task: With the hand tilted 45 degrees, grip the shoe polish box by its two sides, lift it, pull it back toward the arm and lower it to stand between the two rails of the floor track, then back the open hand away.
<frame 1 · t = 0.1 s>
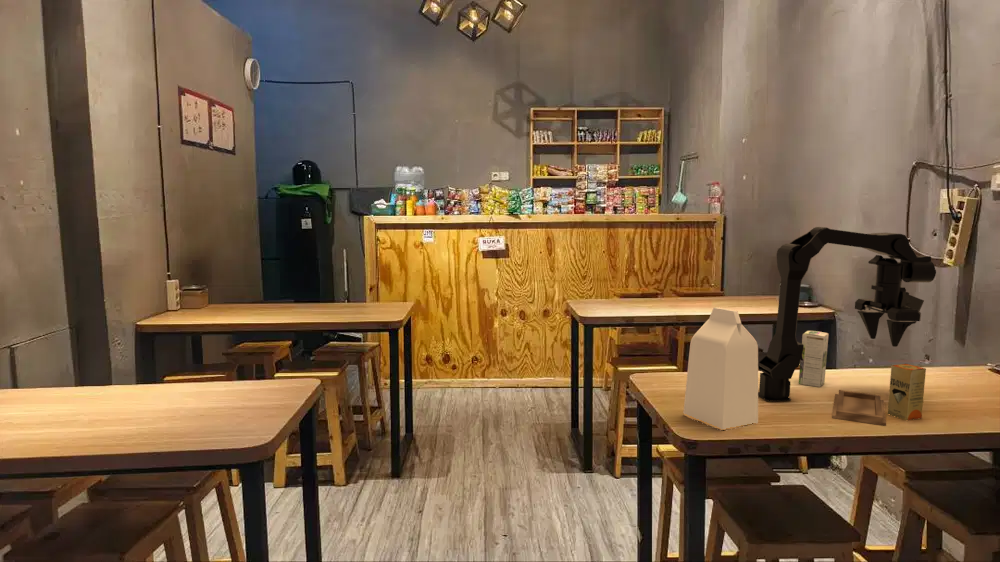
hand: (883, 342, 170), 15 cm above the table, tool pointing down, fingers open, 9 cm apart
track: (858, 409, 161), on the table
syrup box: (811, 384, 184), on the table
milk: (719, 420, 154), on the table
shoe polish box: (904, 417, 157), on the table
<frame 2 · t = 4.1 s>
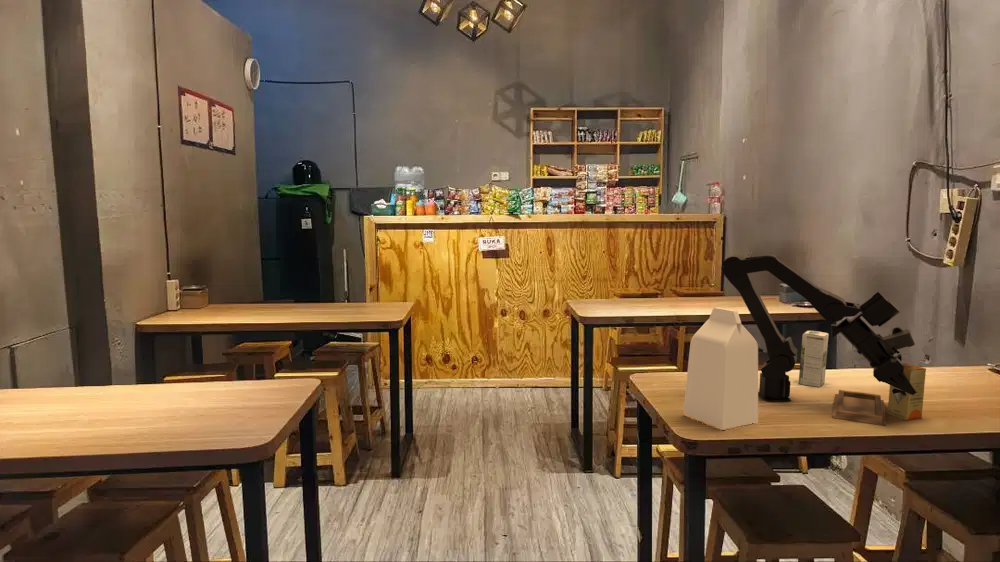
hand: (913, 389, 155), 7 cm above the table, tool tilted 45°, fingers closed on shoe polish box, 7 cm apart
shoe polish box: (904, 417, 157), on the table, touching gripper
everything else where it was.
when the fingers open (8 cm above the table, at t = 7.5 s): shoe polish box stays where it is, resting on track.
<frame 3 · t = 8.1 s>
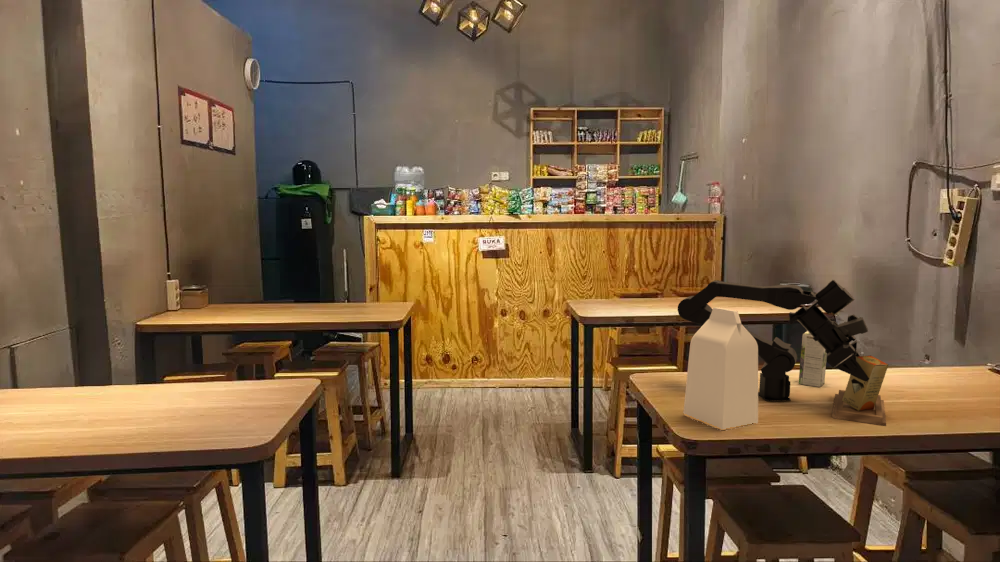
hand: (867, 375, 160), 9 cm above the table, tool tilted 45°, fingers open, 9 cm apart
shoe polish box: (857, 405, 161), point 1 cm above the table, touching track
everything else where it was.
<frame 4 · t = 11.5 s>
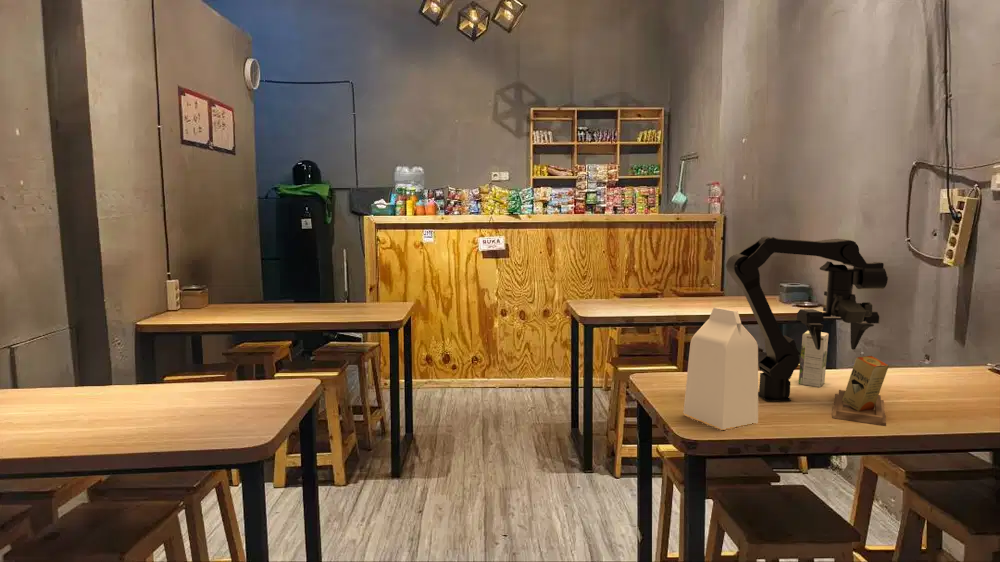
hand: (835, 349, 169), 13 cm above the table, tool pointing down, fingers open, 9 cm apart
nothing on the table moved.
at the end: shoe polish box 0.3 cm from the track (horizontally); shoe polish box tilted 15°; shoe polish box touching track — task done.
